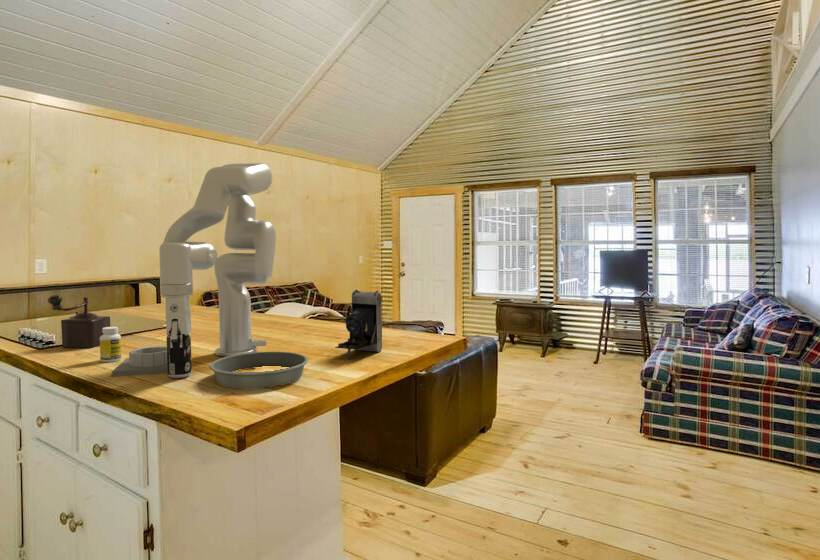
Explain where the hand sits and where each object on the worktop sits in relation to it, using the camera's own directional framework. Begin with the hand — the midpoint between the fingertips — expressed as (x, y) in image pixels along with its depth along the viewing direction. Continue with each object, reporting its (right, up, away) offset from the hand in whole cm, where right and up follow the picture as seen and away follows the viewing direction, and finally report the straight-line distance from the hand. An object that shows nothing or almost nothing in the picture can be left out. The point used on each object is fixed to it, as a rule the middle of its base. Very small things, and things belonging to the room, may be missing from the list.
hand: (178, 360), depth 129 cm
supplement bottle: (-29, -3, +19) cm, 35 cm away
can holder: (-13, -4, +11) cm, 17 cm away
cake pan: (+21, -5, +1) cm, 21 cm away
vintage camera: (+44, -3, +27) cm, 52 cm away
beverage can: (0, -5, +1) cm, 5 cm away
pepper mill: (-51, -2, +38) cm, 63 cm away
